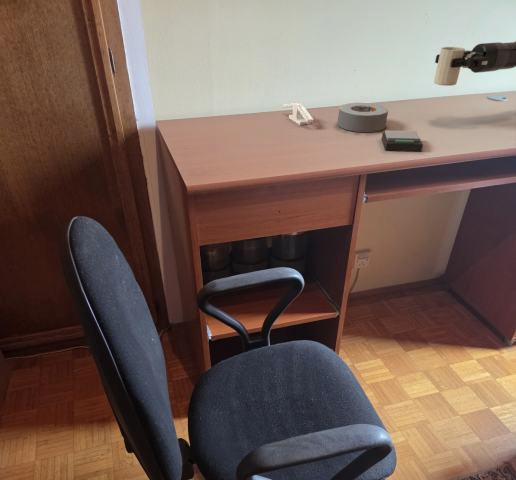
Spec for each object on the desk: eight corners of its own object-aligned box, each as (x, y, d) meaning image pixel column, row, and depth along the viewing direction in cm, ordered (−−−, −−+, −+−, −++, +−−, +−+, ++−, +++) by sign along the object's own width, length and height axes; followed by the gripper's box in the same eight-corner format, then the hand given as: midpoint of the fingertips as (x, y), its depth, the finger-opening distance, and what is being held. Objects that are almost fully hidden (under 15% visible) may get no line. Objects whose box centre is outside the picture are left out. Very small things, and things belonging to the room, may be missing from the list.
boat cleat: (293, 112, 157) (294, 95, 154) (318, 128, 143) (319, 109, 140) (282, 113, 156) (283, 96, 153) (306, 129, 142) (308, 110, 139)
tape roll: (381, 119, 151) (384, 102, 147) (389, 133, 139) (392, 115, 136) (335, 118, 151) (337, 102, 148) (339, 132, 140) (341, 114, 137)
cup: (453, 81, 140) (461, 46, 134) (458, 85, 135) (467, 50, 129) (431, 80, 141) (439, 46, 135) (436, 85, 136) (443, 50, 130)
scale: (415, 140, 134) (417, 130, 132) (421, 151, 126) (423, 141, 124) (381, 139, 134) (383, 129, 133) (385, 150, 127) (387, 140, 125)
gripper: (477, 39, 140) (432, 42, 136) (510, 46, 130) (463, 49, 126) (470, 67, 145) (426, 71, 141) (501, 76, 135) (455, 80, 131)
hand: (444, 61), depth 134 cm, fingers closed on cup, 6 cm apart
